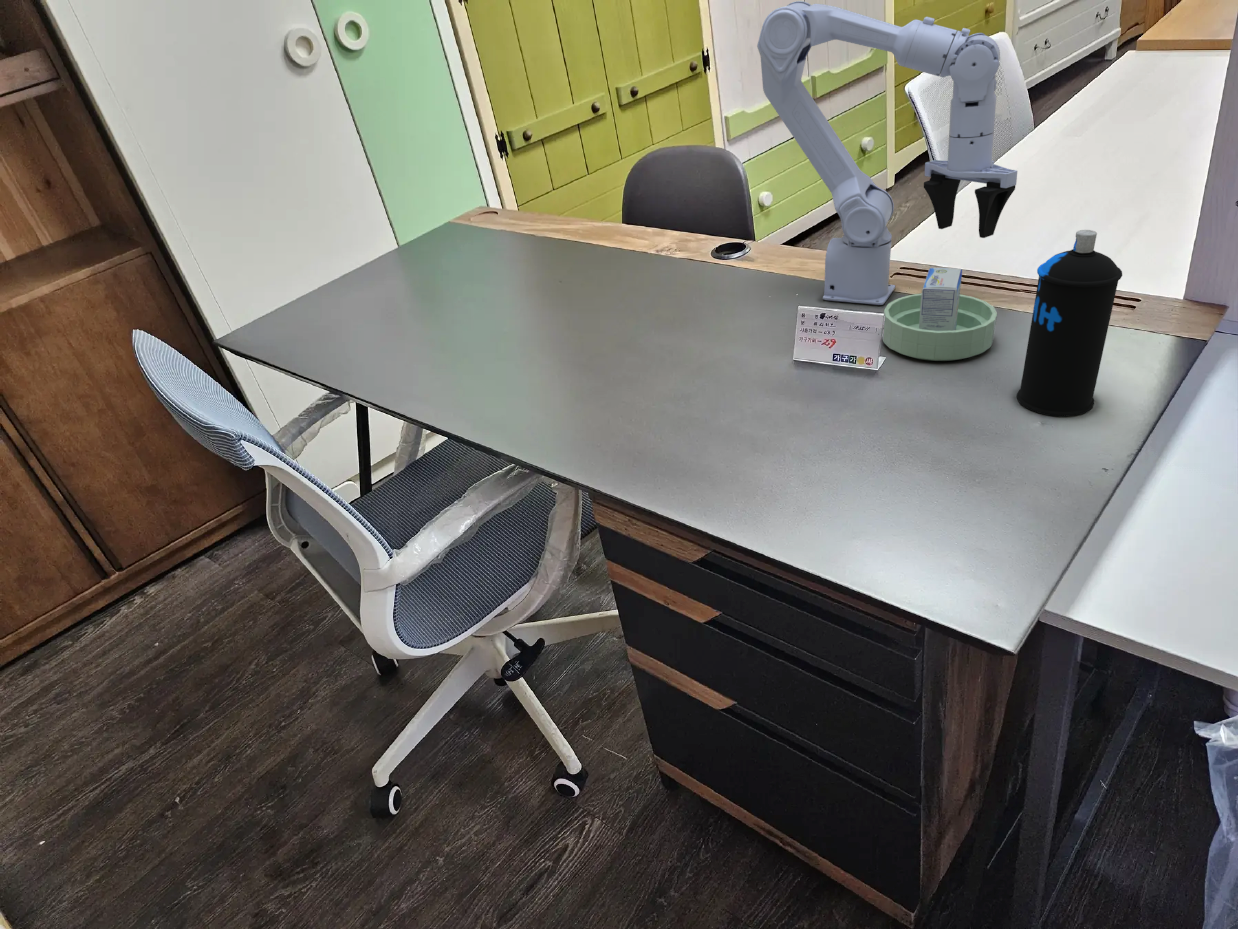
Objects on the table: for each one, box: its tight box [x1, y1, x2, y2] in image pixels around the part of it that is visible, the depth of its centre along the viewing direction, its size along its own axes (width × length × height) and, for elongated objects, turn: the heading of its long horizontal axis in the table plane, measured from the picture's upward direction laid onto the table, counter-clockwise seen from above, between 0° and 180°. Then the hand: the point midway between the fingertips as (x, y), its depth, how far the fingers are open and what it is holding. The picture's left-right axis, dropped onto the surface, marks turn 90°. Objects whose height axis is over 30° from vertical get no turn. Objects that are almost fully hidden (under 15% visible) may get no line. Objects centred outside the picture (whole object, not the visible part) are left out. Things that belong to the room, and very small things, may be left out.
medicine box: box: [919, 267, 963, 331], centre depth 114 cm, size 8×4×9 cm, turn 157°
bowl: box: [882, 292, 998, 362], centre depth 115 cm, size 14×14×4 cm
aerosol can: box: [1016, 229, 1123, 417], centre depth 94 cm, size 8×8×20 cm
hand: (965, 231), depth 123 cm, fingers open, 7 cm apart
